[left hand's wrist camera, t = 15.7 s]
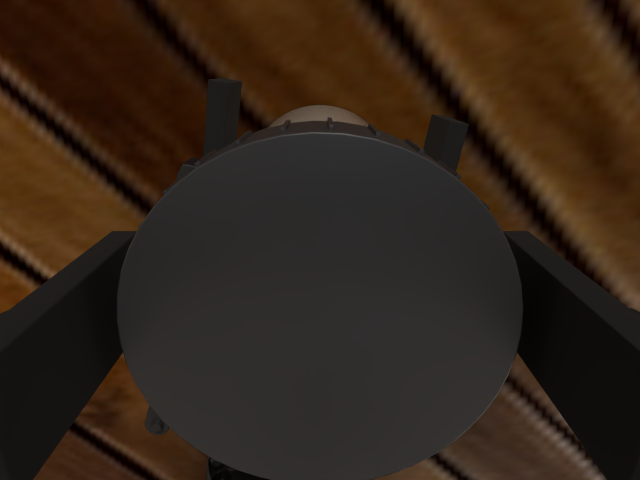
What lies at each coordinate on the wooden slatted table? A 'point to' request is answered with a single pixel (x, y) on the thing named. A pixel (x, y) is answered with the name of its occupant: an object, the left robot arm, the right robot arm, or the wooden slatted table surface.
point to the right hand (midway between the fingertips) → (339, 100)
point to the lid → (319, 304)
